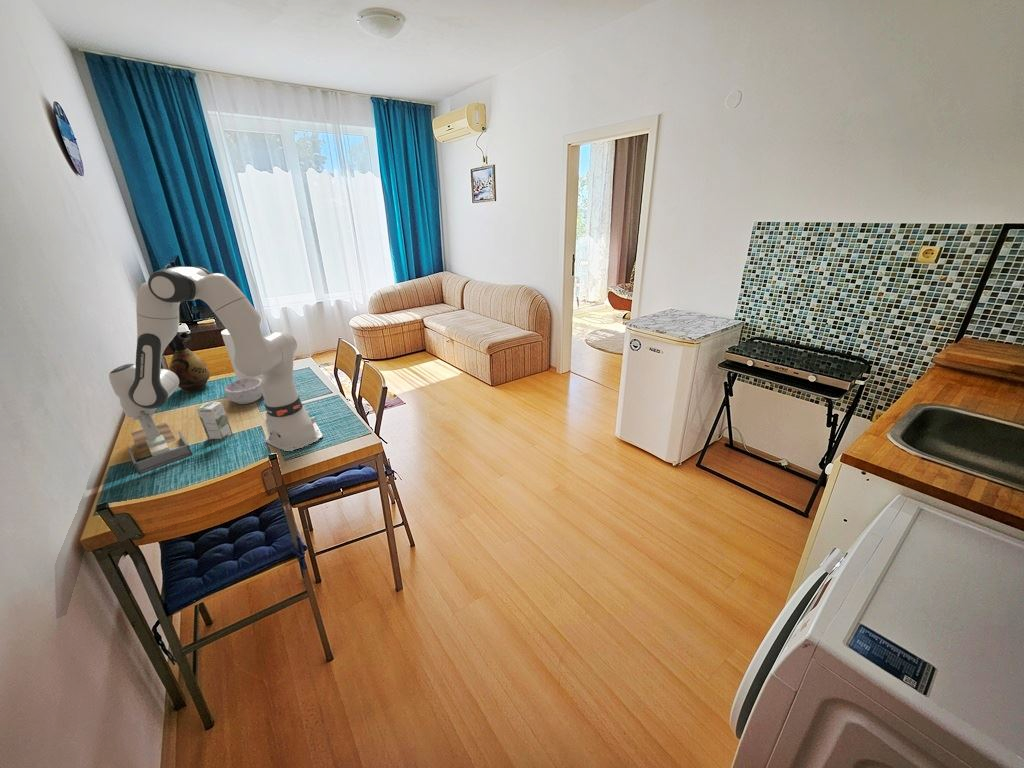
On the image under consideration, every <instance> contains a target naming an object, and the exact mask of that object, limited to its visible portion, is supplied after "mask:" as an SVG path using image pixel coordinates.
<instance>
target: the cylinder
mask: <svg viewBox="0 0 1024 768" xmlns="http://www.w3.org/2000/svg"><path fill="white" fill-rule="evenodd" d="M220 334H221V336H222V337H221V338H222V340H223V343H224V345H225V349H226V352H227V354H228V355H227V356H228V357H229V359H230V363H231V366H232V369H233V371H234V374H235V378H236V381H238V380H241V379H246V378H259V379H261V380H262V378H263V374H261V375H258V376H254V377H251V376H246V375H244V374H242V373H241V372H240V371H239V370H238V369H237V368H236V366H235V363H234V357H235V346H234V343H233V340H232V337H231V335H230V333H229V332H228V330H227V329H226V328H225V329H223V330H221V332H220Z"/></svg>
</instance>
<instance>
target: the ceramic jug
mask: <svg viewBox="0 0 1024 768" xmlns="http://www.w3.org/2000/svg"><path fill="white" fill-rule="evenodd" d="M190 340H191V336H190V335H189V334H188V333H187V332H182V333H180V332H179V330H178V331H177V334H176V336H175V337H174V338H173V339H172V341H171V342H170V343H169V344H168V346H169V348H170V350H171V351H172V357H171V360H170V363H169V367H168V370H171V371H173V372H174V373H175V374H176V375H177V376H178V378H179V381H180V383H179V386H178V387H177V388H180V389H181V390H182V391H183V392H184V393H193V392H198V391H202V390H203V389H204V388H206V386H207V382H208V381H209V380H210V379H209V378H210V376H211V375H210V374H211V373H210V370H209V367H208V366H207V364H206V362H205V361H204V360H203V359H202V358H201V357H200V356H198V355H197V354H196V353H195V352H193V351H192V350H190V349H189V348H188V347H186V345H185V342H187V341H190Z"/></svg>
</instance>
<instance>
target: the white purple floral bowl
mask: <svg viewBox="0 0 1024 768" xmlns="http://www.w3.org/2000/svg"><path fill="white" fill-rule="evenodd" d="M260 383H261V379H259V378H246V379H241V380H238V381H237V380H235V381H232V382H231V383H228V384H226V386H225V387H224V392H225V395H226V398H227V400H228V401H230V402H233V403H236V404H238V405H245V404H246V405H247V404H252V403H255V402H257V401H259V400H260V399H261V398H262V396H263V394H262V391H261V388H260Z"/></svg>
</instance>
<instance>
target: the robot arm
mask: <svg viewBox="0 0 1024 768" xmlns="http://www.w3.org/2000/svg"><path fill="white" fill-rule="evenodd" d="M136 297H137V298H136V310H135V311H136V329H137V330H136V333H137V335H136V352H135V353H136V354H135V363H127V364H123V365H120V366H118V367H116V368H114V369H112V370H111V371H110V372H109V374H108V379H109V383H110V385H111V388H112V390H113V393H114V394H115V396H117V398H119V399H118V400H119V404H120V406H121V408H122V410H123V412H124V414H125V416H126V418H132V420H134V421H138V422H139V424H140V427H141V428H142V429H141V430H143V431H144V433H145V435H146V437H147V439H149V440H150V439H153V438H156V437H159V436H160V433H159V431H158V429H157V427H156V425H157V424H156V423H155V420H154V418H153V416H154V415H155V411H156V410H157V409H158V408H160V407H162V406H163V405H165V403H166V402H167V400H168V399H169V397H170V396H172V395H173V393H174V392H175V391H176V390H177V389H178V388H179V387H178V386H179V383H180V381H179V378H178V376H177V375H176V374H175V373H174V372H173V371H171V370H169V368H162V359H163V358H162V357H163V355H164V353H165V350H166V348H168V346H169V343H170V342H171V341H172V340H173V339H174V337H175V336H176V334H177V331H178V332H179V326H180V304H181V303H184V302H188V301H189V302H190V301H195V300H201V301H203V302H204V303H205V304H207V306H208V307H209V308H210V310H211V311H212V312H213V313H214V314H215V316H216V317H217V318H218V320H219V321H220V322H221V323H222V325H223V327H224V328H225V329H227V330H228V332H229V333H230V335H231V337H232V340H233V343H234V346H235V357H234V363H235V366H236V368H237V369H238V370H239V371H240V372H241V373H242V374H244V375H246V376H251V377H254V376H258V375H261V374H263V378H262V380H261V383H260V388H261V391H262V397H263V400H264V408H265V411H266V414H267V416H266V418H265V420H264V424H265V428H266V431H267V433H268V434H267V435H268V436H266V437H265V443H266V444H268V445H271V446H273V447H275V448H277V449H279V450H281V449H282V450H281V451H283V450H284V451H283V452H285V451H291V450H295V449H298V448H301V447H304V446H306V445H308V444H310V443H313V442H314V441H316V440H318V439H319V438H321V437H322V436H323V437H324V434H323V433H322V431H321V429H320V428H319V426H318V424H317V421H316V418H315V416H312V417H310V416H311V412H310V411H307V409H306V406H304V405H303V402H302V399H301V398H300V395H298V392H297V388H296V384H295V380H294V357H295V354H296V351H297V348H298V343H297V340H296V339H295V337H294V336H293V335H292V334H290V333H289V332H287V331H281V330H280V331H275V332H271V333H269V334H266V335H263V332H262V330H261V326H260V324H261V320H262V319H261V318H262V317H261V315H260V313H259V312H258V310H257V309H255V307H254V305H253V304H252V303H251V302H250V300H249V299H248V298H247V296H246V295H245V294H244V293H243V292H242V290H241V289H240V288H239V287H238V286H237V285H236V283H234V281H232V280H231V279H230V278H229V277H228V276H227V275H225V274H223V273H220V272H216V273H215V272H214V273H213V272H211V271H210V270H208V269H207V268H204V267H202V266H195V265H191V266H173V267H169V268H161V269H159V270H156V271H155V272H153V273H152V274H151V275H149V277H148V281H146V282H143V283H141V285H140V286H139V289H138V291H137V296H136ZM316 438H317V439H316Z"/></svg>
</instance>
